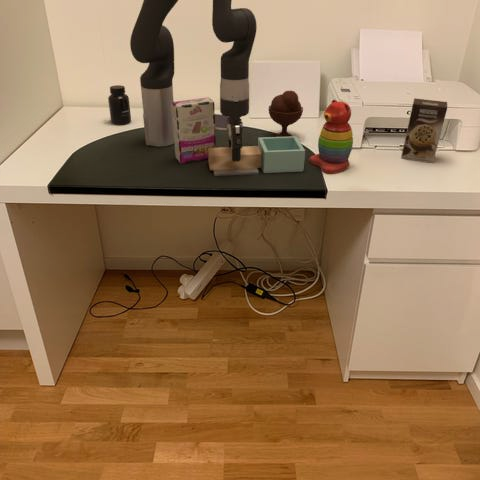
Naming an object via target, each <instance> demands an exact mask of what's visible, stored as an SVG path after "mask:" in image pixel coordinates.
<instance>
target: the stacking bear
mask: <svg viewBox="0 0 480 480" xmlns="http://www.w3.org/2000/svg"><path fill="white" fill-rule="evenodd" d="M323 115H324V117H323V118H324V119H325V120H324V121H325V123H323V126H322V128H321V130H320V134H319V136H318V144H317V147H318V153H317V154H313V155H311V156H310V158H309V159H308V162H309V163H310V164H311V165H314V166H318V167H319V168H320V169H321V172H323V173H324V174H329V175H333V174H338V173H342V172H344V171H345V170H347V169H349V167H350V161H349V158H350V156H351V153H352V149H353V145H354V137H353V134H354V133H353V129H352V127H351V124H350V123H349V121H350V120H351V116H352V109H351V107H350V104H349V103H346V102H345V101H338V100H336V99H332V101H331V103H330V104H329V105H328V106H327V107H326V108H325V110H324V113H323Z"/></svg>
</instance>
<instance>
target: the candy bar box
mask: <svg viewBox="0 0 480 480" xmlns="http://www.w3.org/2000/svg"><path fill="white" fill-rule="evenodd" d="M171 108H172V119H173V132H174V144H173V145H174V153H175V159H176V161H178V162H179V163H180V164H185V163H186V164H187V163H192V162H193V163H194V162H197V161H203V160H204V161H205V160H208V148H217V142H216V138H217V137H216V129H215V114H216V113H215V110H216V109H215V101H214V100H213V99H212V98H210V97H202V98H194V99H192V98H191V99H185V100H180V101H179V100H178V101H174V102H171Z"/></svg>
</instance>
